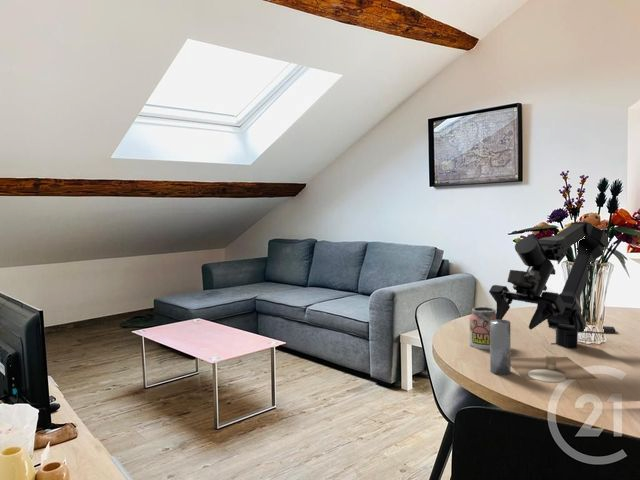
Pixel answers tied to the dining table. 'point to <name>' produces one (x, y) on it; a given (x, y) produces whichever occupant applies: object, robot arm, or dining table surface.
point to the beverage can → (481, 327)
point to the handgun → (606, 328)
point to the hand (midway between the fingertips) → (513, 325)
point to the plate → (538, 371)
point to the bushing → (500, 347)
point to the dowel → (550, 362)
